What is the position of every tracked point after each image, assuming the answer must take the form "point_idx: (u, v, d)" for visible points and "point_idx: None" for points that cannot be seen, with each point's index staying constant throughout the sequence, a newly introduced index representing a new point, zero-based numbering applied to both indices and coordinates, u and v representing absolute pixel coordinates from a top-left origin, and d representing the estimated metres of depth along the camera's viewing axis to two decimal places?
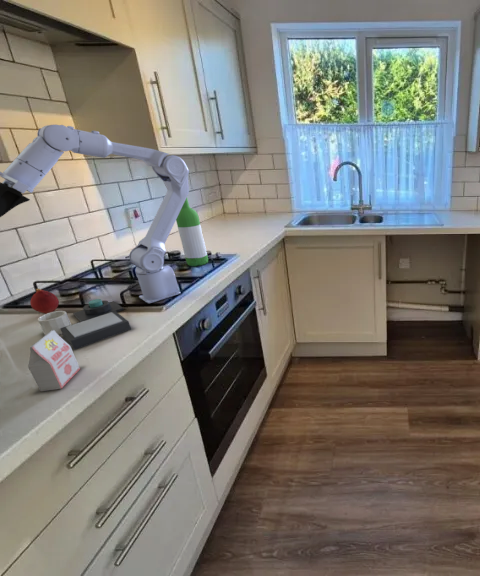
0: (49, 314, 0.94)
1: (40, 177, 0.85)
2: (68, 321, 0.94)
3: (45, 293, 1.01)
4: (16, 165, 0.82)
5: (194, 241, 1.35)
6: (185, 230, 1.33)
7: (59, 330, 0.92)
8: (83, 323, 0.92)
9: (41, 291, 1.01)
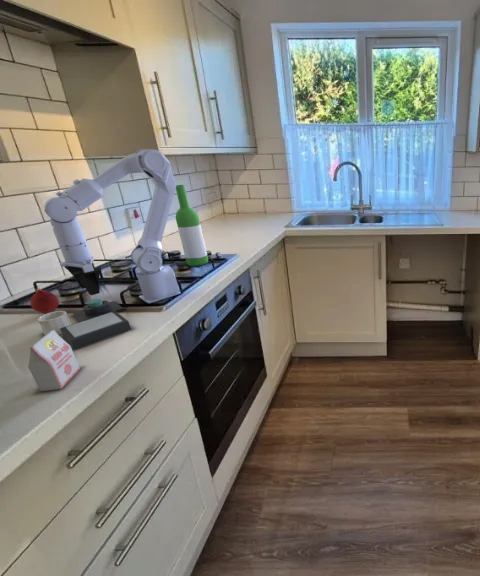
0: (49, 314, 0.94)
1: (86, 246, 0.97)
2: (68, 321, 0.94)
3: (45, 293, 1.01)
4: (66, 252, 0.94)
5: (194, 241, 1.35)
6: (185, 230, 1.33)
7: (59, 330, 0.92)
8: (83, 323, 0.92)
9: (41, 291, 1.01)
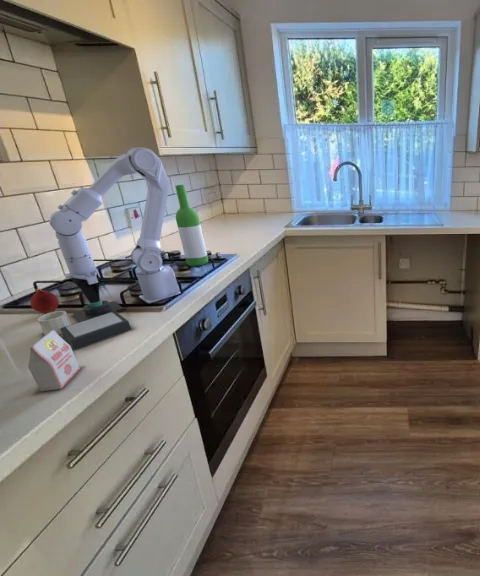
0: (49, 314, 0.94)
1: (90, 258, 0.98)
2: (68, 321, 0.94)
3: (45, 293, 1.01)
4: (71, 264, 0.95)
5: (194, 241, 1.35)
6: (185, 230, 1.33)
7: (59, 330, 0.92)
8: (83, 323, 0.92)
9: (41, 291, 1.01)
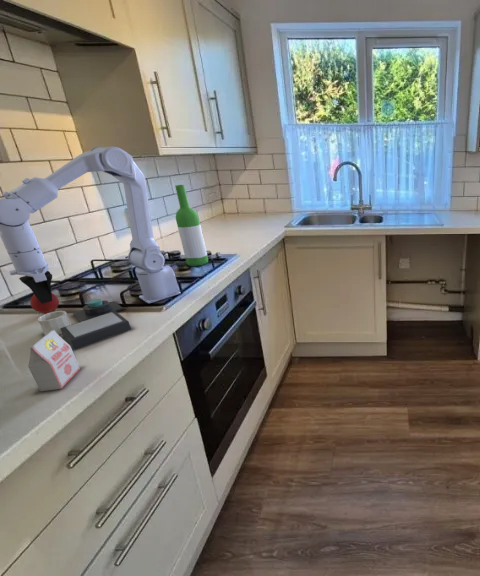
0: (49, 314, 0.94)
1: (39, 253, 0.87)
2: (68, 321, 0.94)
3: None
4: (15, 259, 0.84)
5: (194, 241, 1.35)
6: (185, 230, 1.33)
7: (59, 330, 0.92)
8: (83, 323, 0.92)
9: None
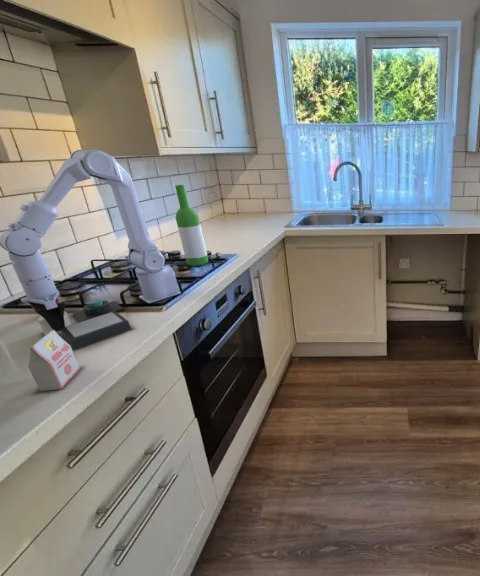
0: None
1: (50, 280, 0.89)
2: (68, 321, 0.94)
3: None
4: (27, 288, 0.86)
5: (194, 241, 1.35)
6: (185, 230, 1.33)
7: None
8: (83, 323, 0.92)
9: None
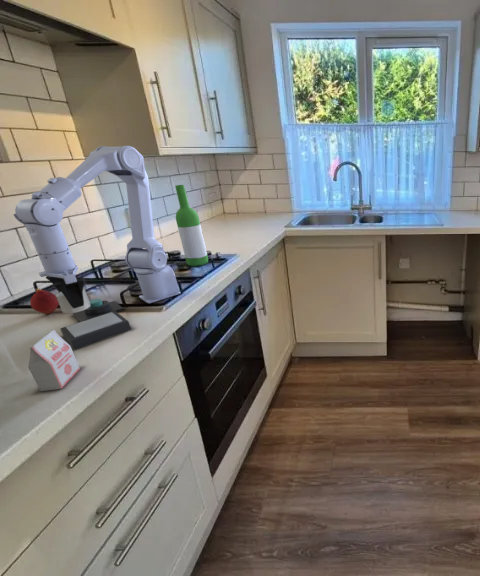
0: None
1: (69, 254, 0.86)
2: (87, 298, 0.90)
3: (45, 293, 1.01)
4: (45, 261, 0.83)
5: (194, 241, 1.35)
6: (185, 230, 1.33)
7: (78, 307, 0.88)
8: (83, 323, 0.92)
9: (41, 291, 1.01)
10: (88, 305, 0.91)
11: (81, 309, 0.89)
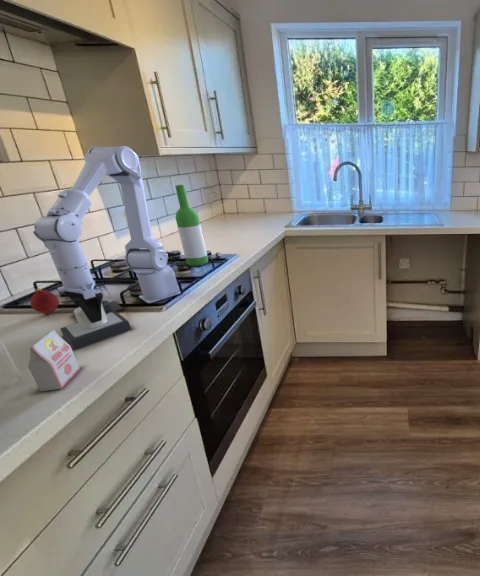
0: None
1: (87, 269, 0.87)
2: (104, 313, 0.92)
3: (45, 293, 1.01)
4: (64, 276, 0.84)
5: (194, 241, 1.35)
6: (185, 230, 1.33)
7: (95, 323, 0.90)
8: None
9: (41, 291, 1.01)
10: (105, 320, 0.92)
11: (99, 324, 0.90)
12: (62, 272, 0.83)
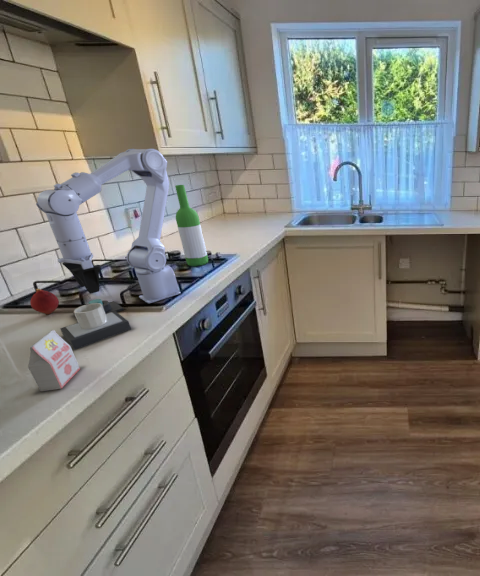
0: (84, 306, 0.91)
1: (85, 242, 0.91)
2: (104, 313, 0.92)
3: (45, 293, 1.01)
4: (64, 248, 0.88)
5: (194, 241, 1.35)
6: (185, 230, 1.33)
7: (95, 323, 0.90)
8: None
9: (41, 291, 1.01)
10: (105, 320, 0.92)
11: (99, 324, 0.90)
12: (62, 244, 0.88)
